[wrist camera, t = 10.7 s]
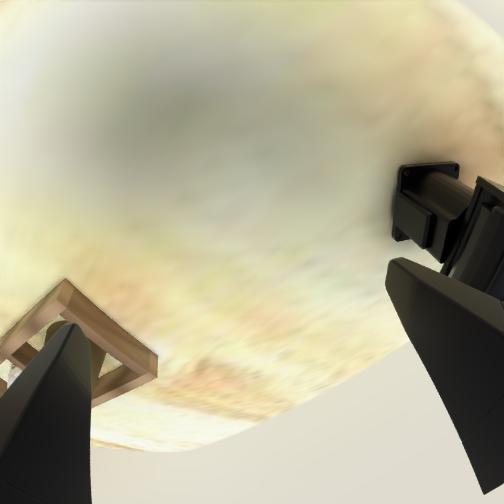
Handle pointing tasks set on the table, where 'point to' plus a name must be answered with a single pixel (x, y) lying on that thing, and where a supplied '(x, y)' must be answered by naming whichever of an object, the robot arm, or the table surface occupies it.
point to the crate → (94, 327)
